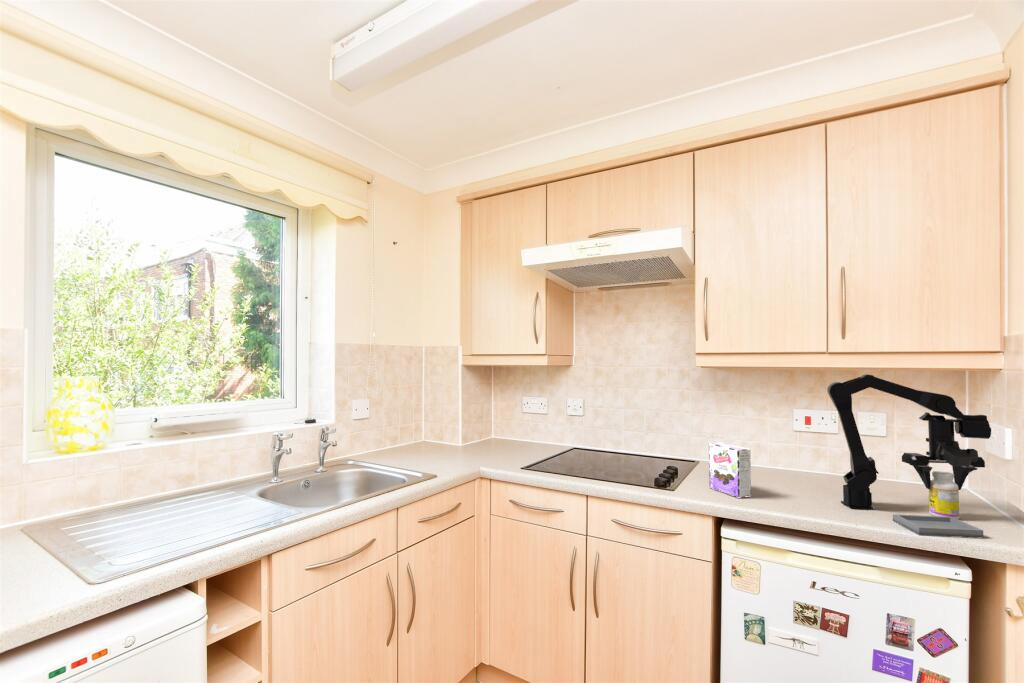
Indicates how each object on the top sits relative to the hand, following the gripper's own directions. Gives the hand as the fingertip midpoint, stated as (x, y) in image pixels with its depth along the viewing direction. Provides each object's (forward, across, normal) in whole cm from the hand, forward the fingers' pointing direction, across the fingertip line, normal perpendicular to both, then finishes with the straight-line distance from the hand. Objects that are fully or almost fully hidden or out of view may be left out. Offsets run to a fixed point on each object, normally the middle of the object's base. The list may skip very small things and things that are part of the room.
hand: (943, 489), depth 141 cm
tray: (+8, -10, -12) cm, 18 cm away
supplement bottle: (+8, 0, 0) cm, 8 cm away
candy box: (+8, -55, +18) cm, 58 cm away
